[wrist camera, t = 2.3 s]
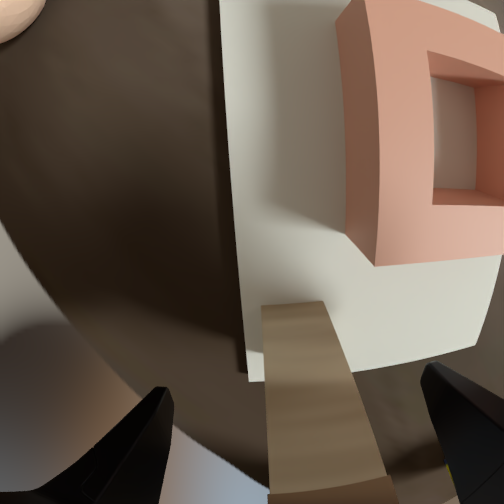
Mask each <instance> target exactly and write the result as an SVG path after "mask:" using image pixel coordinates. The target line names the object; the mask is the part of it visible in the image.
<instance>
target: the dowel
mask: <svg viewBox="0 0 504 504" xmlns="http://www.w3.org/2000/svg"><path fill="white" fill-rule="evenodd" d="M261 319H262V338H263V357H264V377H265V397H266V418H267V439H268V461H269V484H270V494H268V504H399V502H398V499H397V495H396V492H395V489H394V486H393V482H392V479H391V476H390V475H387V474H386V471H385V467H384V464H383V461H382V458H381V455H380V452H379V449H378V446H377V443H376V440H375V437H374V434H373V431H372V428H371V425H370V422H369V420H368V417H367V414H366V411H365V408H364V405H363V403H362V400H361V397H360V394H359V392H358V389H357V386H356V383H355V381H354V378H353V375H352V373H351V370H350V367H349V365H348V362H347V360H346V357H345V354H344V352H343V349H342V347H341V344H340V341H339V339H338V336H337V334H336V331H335V329H334V326H333V324H332V321H331V319H330V316H329V314H328V311H327V309H326V306H325V304H324V302H323V301H317V302H305V303H291V304H277V305H261Z"/></svg>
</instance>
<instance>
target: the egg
mask: <svg viewBox="0 0 504 504" xmlns="http://www.w3.org/2000/svg"><path fill="white" fill-rule="evenodd" d="M45 2H46V0H0V43H3V42H6V41H8V40H10V39H12V38H14V37H15V36H17V35H19V34H20V33H21V32H23V31H24V30H25V29H26V28H27V27H28V26H30V25H31V24H32V23H33V22H34V20H35V19H36V18H37V17H38V15H39V14H40V12H41V11H42V9H43V7H44V5H45Z"/></svg>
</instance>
